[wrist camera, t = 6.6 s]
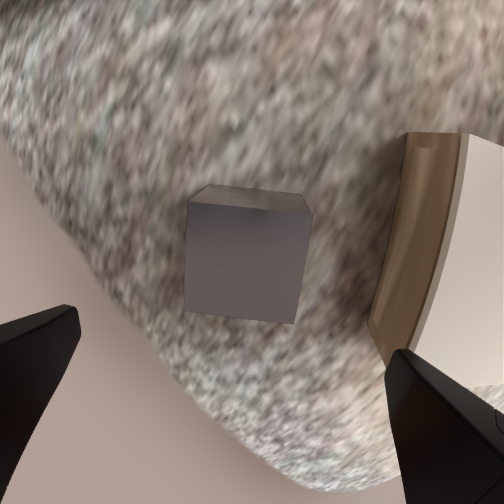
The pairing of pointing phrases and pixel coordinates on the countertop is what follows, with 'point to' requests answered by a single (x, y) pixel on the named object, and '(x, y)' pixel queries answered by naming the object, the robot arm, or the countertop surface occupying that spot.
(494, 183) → the lid
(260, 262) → the block
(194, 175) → the countertop surface
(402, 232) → the box
